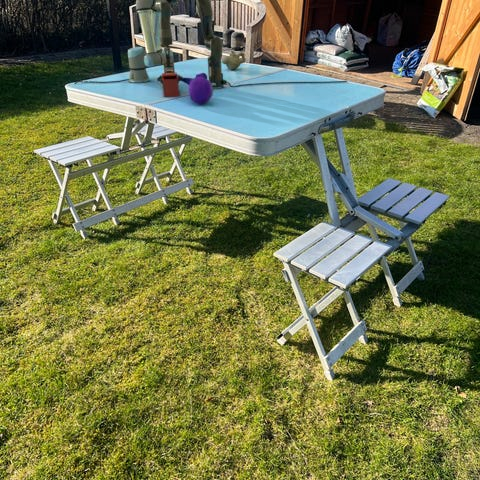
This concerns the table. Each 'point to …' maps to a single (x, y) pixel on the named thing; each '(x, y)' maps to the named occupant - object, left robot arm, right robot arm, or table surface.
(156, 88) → the table surface
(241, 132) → the table surface
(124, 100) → the table surface
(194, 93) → the toy
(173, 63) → the lid
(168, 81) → the chest
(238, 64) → the teapot
